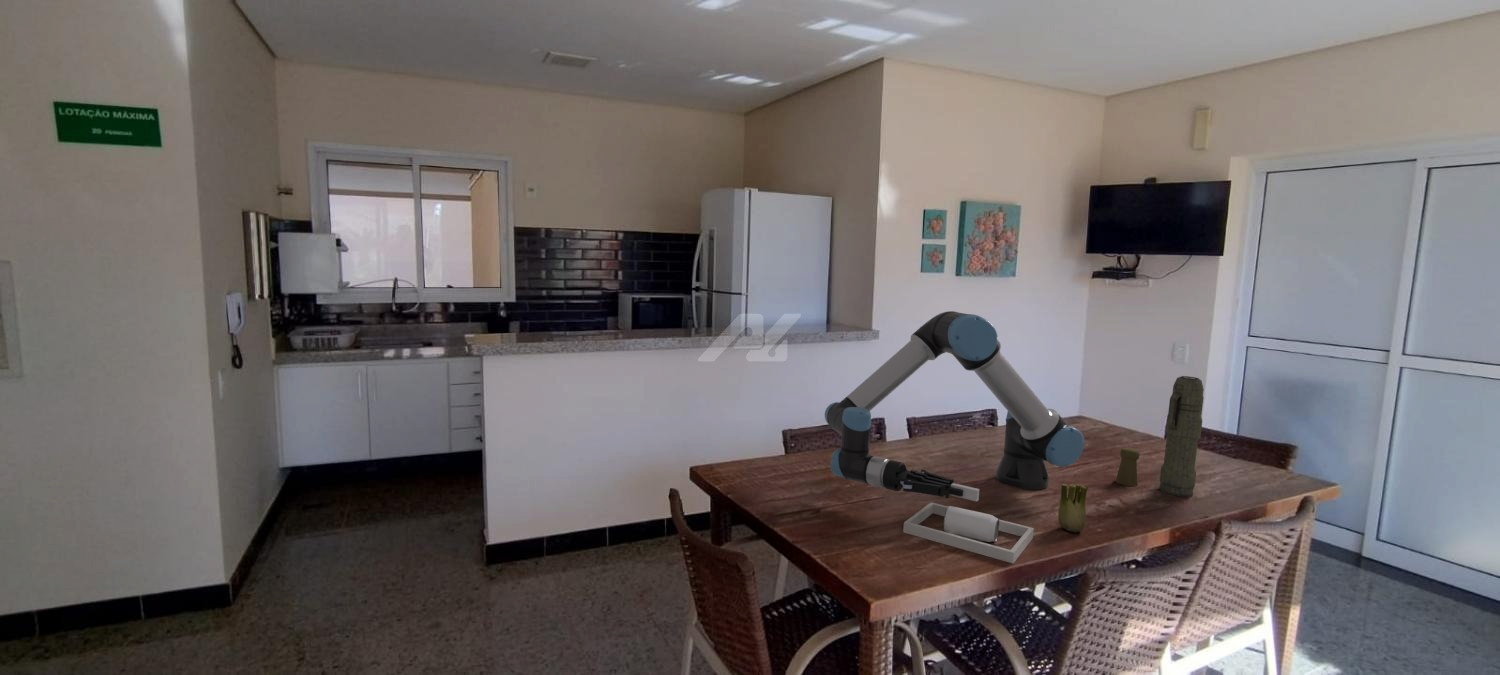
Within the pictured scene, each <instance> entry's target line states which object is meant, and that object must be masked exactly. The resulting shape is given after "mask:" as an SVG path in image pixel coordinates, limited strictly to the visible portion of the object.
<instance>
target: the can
mask: <svg viewBox="0 0 1500 675" xmlns="http://www.w3.org/2000/svg"><path fill="white" fill-rule="evenodd" d="M943 517H944V518H943V532H947V533H948V532H953V533H954V534H955V535H957V536H961V537H965V538H968V539H972V540H976V541H980V542H984V543H986V542H987V543H991V542H995V543H997V539H998V535H999V531H998V530H999V520H1000V518H997V517H996V516H995V515H992V514H989V513H985V512H980V511H976V510H972V509H971V510H970V509H966V508H962V507H958V506H953V505H948V507H947V509H946V512H945V516H943Z"/></svg>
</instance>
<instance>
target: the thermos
mask: <svg viewBox="0 0 1500 675" xmlns="http://www.w3.org/2000/svg"><path fill="white" fill-rule="evenodd" d="M1172 386H1173V387H1172V394H1171V396H1170V398H1169V404H1168V412H1167V416H1166V427H1165V434H1166V439H1165V440H1166V441H1165V449H1164V458H1163V459H1164V460H1163V463H1162V466H1161V468H1160V474H1159V487H1158V489H1159V490H1160V491H1161V492H1162V491H1163V493H1164V494H1167V493H1168V495H1171V494H1172V496H1175V495H1177V497H1182V496H1186V497H1185V498H1188V497H1189V498H1190V497H1193V496H1194V488H1195V486H1196V479H1197V473H1196V472H1197V471H1196V470H1195V469H1196V462H1197V461H1196V460H1197V451H1198V445H1199V440H1200V438H1201V435H1202V428H1203V427H1202V426H1203V418H1202V413H1203V404H1204V392H1205V391H1204V389H1205V388H1204V384H1203V381H1202V380H1201V379H1200V378H1199V377H1196V376H1195V377H1194V376H1187V375H1180V376H1178V377H1176V379H1175V381H1174V382H1173V385H1172ZM1192 495H1193V496H1192Z"/></svg>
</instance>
